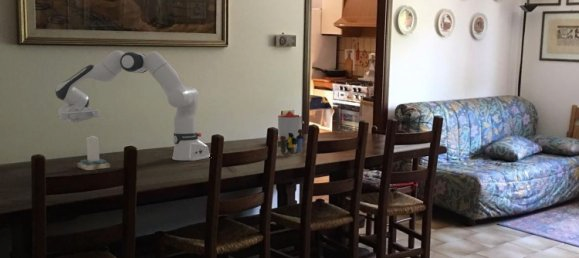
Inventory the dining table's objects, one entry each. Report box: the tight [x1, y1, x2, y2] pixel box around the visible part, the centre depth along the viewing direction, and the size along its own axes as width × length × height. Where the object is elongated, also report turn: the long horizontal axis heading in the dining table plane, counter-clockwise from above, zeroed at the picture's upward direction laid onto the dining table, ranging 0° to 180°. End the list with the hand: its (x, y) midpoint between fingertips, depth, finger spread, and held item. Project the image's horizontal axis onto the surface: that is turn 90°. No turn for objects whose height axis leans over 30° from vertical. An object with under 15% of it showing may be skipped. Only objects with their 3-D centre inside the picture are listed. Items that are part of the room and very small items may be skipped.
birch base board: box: [76, 157, 111, 171], centre depth 304 cm, size 12×12×4 cm
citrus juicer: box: [277, 110, 305, 142], centre depth 391 cm, size 16×17×20 cm
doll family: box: [278, 128, 306, 157], centre depth 344 cm, size 23×9×13 cm, turn 160°
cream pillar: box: [86, 135, 100, 162], centre depth 303 cm, size 4×4×14 cm
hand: (84, 115), depth 315 cm, fingers open, 8 cm apart
